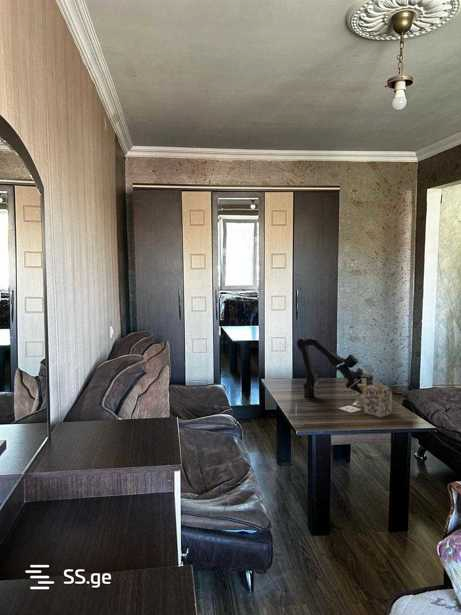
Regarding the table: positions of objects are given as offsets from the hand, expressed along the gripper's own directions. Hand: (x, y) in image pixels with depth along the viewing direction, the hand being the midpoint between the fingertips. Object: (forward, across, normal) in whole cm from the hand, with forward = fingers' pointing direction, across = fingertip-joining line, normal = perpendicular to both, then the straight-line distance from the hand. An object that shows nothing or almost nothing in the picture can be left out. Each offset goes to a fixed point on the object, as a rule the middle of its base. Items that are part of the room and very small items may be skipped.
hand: (363, 391), depth 282 cm
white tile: (+3, -14, +9) cm, 16 cm away
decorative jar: (+14, -13, -3) cm, 20 cm away
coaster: (+5, 0, +7) cm, 8 cm away
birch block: (+4, 0, +6) cm, 8 cm away
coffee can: (+2, +22, +10) cm, 24 cm away
